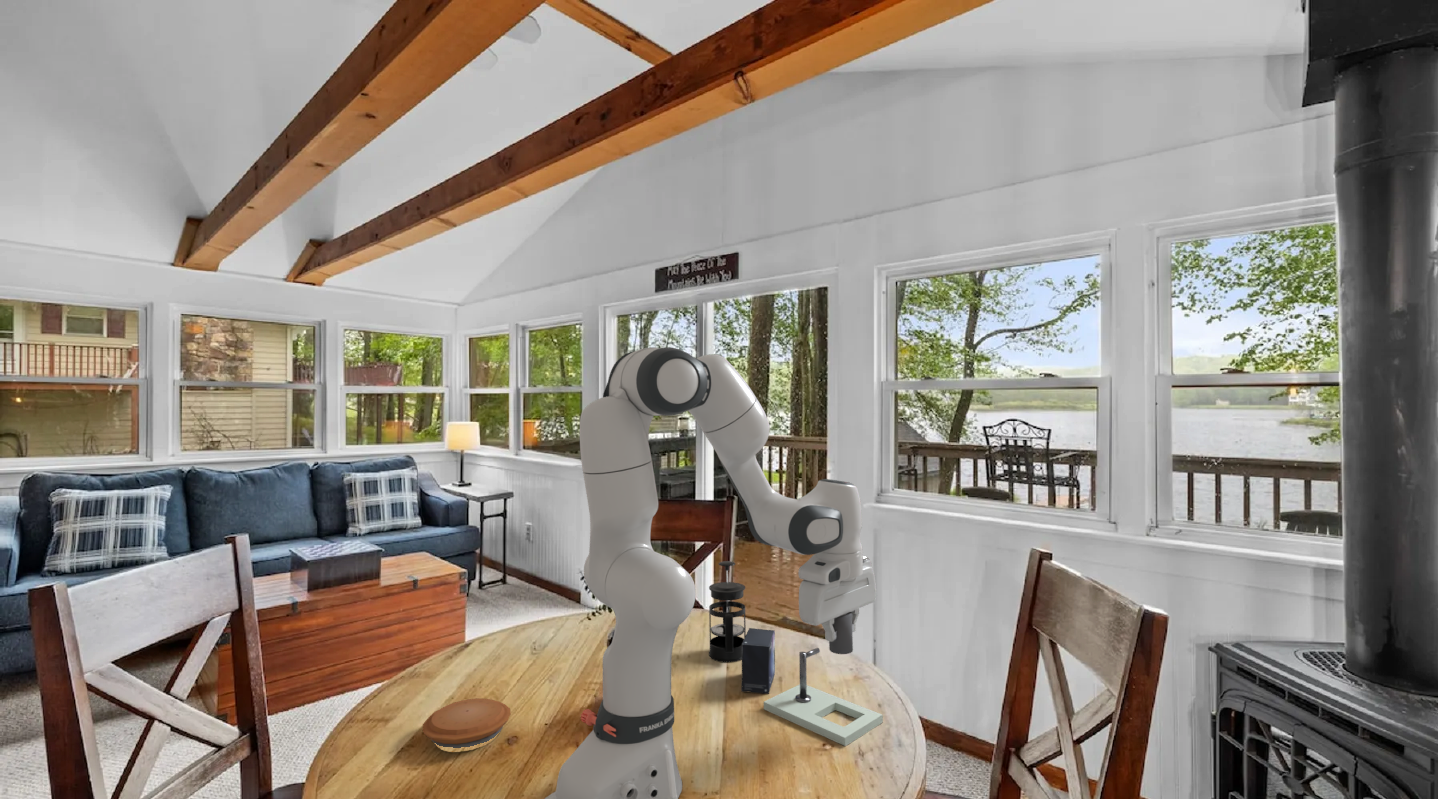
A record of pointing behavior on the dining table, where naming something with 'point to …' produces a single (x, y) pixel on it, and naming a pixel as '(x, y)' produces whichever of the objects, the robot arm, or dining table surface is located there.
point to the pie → (466, 722)
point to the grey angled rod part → (804, 676)
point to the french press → (726, 620)
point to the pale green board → (823, 714)
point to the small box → (758, 661)
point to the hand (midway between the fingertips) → (840, 636)
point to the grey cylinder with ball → (842, 635)
